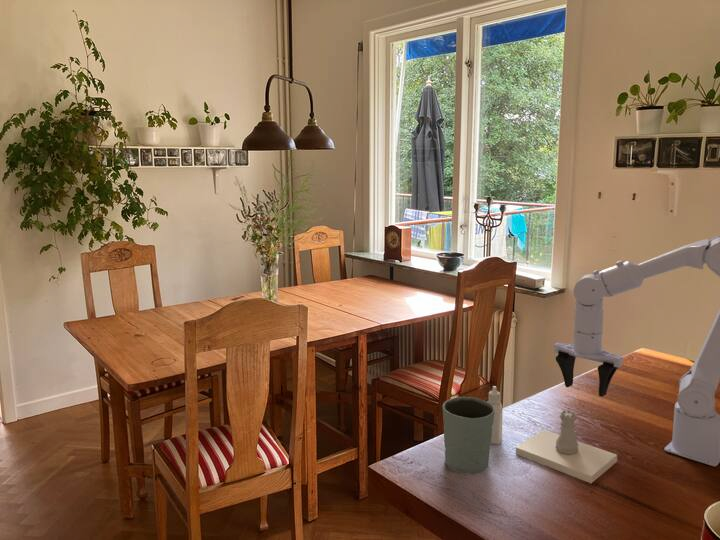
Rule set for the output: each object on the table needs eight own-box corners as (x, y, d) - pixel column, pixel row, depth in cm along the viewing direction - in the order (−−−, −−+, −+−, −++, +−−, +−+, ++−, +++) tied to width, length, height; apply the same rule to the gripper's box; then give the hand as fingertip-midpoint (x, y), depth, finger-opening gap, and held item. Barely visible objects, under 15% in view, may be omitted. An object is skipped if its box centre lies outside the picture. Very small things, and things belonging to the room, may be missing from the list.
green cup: (440, 450, 122) (440, 396, 120) (488, 450, 122) (489, 396, 120) (445, 476, 112) (445, 418, 110) (498, 475, 112) (499, 417, 110)
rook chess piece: (581, 448, 118) (582, 411, 117) (575, 457, 115) (576, 419, 113) (558, 442, 121) (560, 406, 119) (552, 451, 117) (553, 414, 116)
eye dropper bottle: (509, 437, 127) (510, 385, 125) (496, 446, 123) (497, 393, 121) (491, 431, 130) (491, 380, 128) (478, 440, 126) (478, 388, 124)
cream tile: (616, 461, 116) (617, 454, 115) (591, 483, 108) (591, 476, 108) (543, 435, 127) (543, 429, 127) (515, 454, 120) (515, 447, 120)
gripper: (547, 328, 127) (545, 386, 130) (613, 341, 117) (610, 405, 120) (563, 321, 132) (561, 378, 135) (628, 334, 122) (624, 395, 124)
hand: (585, 390), depth 127 cm, fingers open, 7 cm apart
